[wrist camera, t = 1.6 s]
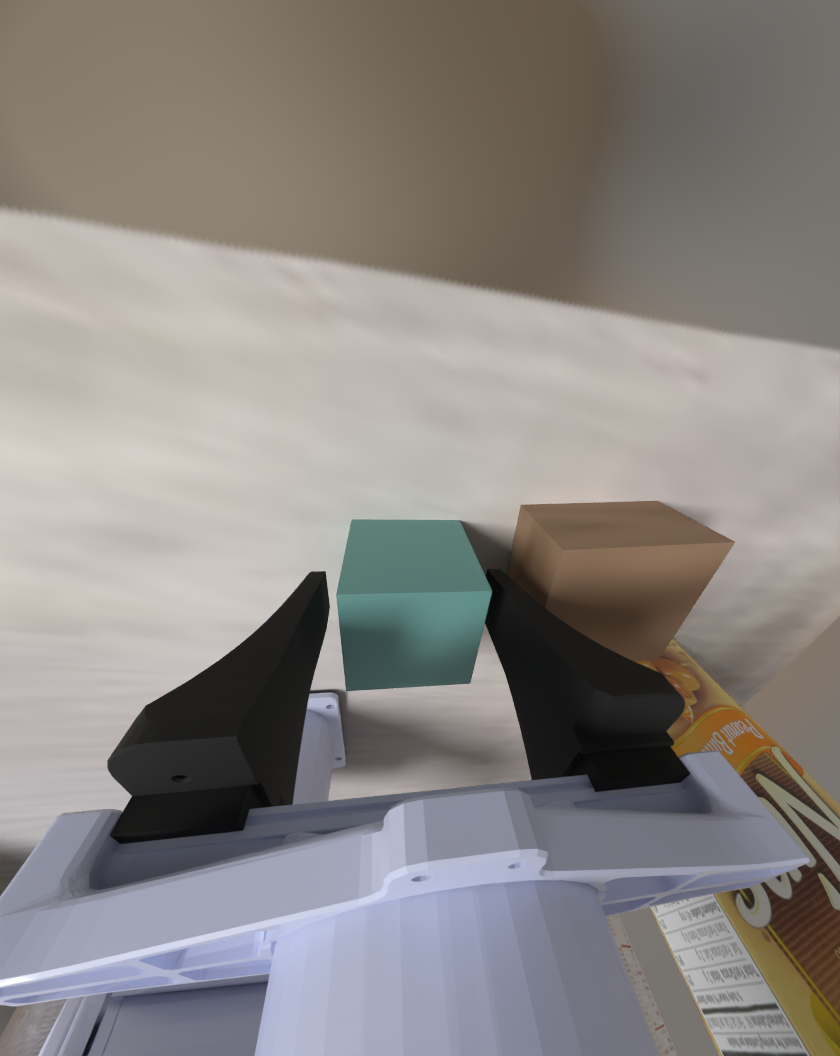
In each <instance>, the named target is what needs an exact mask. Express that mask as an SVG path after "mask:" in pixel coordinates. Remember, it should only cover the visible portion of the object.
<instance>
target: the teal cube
mask: <svg viewBox="0 0 840 1056" xmlns="http://www.w3.org/2000/svg"><path fill="white" fill-rule="evenodd" d="M491 594H492V590H491V587H490V585H489V583H488V581H487V579H486V577H485V574H484V572H483V570H482V568H481V566H480V563H479V561H478V559H477V557H476V555H475V553H474V550H473V548H472V546H471V544H470V542H469V539H468V537H467V535H466V533H465V531H464V529H463V526H462V524H461V522H460V520H352V521H351V526H350V531H349V535H348V540H347V545H346V550H345V555H344V560H343V565H342V570H341V575H340V579H339V584H338V589H337V594H336V596H337V606H338V616H339V625H340V635H341V645H342V654H343V664H344V674H345V684H346V691H356V690H372V689H388V688H405V687H421V686H437V685H454V684H470V682H471V678H472V674H473V669H474V665H475V661H476V657H477V653H478V648H479V644H480V640H481V636H482V632H483V627H484V623H485V619H486V615H487V611H488V606H489V602H490V598H491Z"/></svg>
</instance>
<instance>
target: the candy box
mask: <svg viewBox="0 0 840 1056" xmlns="http://www.w3.org/2000/svg"><path fill="white" fill-rule="evenodd" d="M636 663H639V664H641V665H643V666H645V667H648V668H650V669H652V670H655V671H657V672H659V673H662V674H663V675H664V676H665V677H666V678H667V680H668V681H669V682H670V683H671V684H672V685H673V686H674V688H675V689H676V690H677V691H678V692H679V693H680V694H681V696H682V697H683V698H684V700H685V708H684V711H683V713H682V714H681V715H680V717H679V718H678V719H677V720H676V721H675V722H674V723H673V724H672V726H671V727H670V728H669V729H668V730H667V733H668V734H669V735H670V737H671V738H672V739H673V741H674V745H673V746H671V748H672V749H673V751H674V752H675V753H676V755H677V756H678V757H679V756H681V755H683V754H686V753H692V752H702V751H713V750H716V751H719V752H720V753H721V754H722V755H723V756H724V758H725V759H726V760H727V761H728V762H729V764H730V765H731V766H732V767H733V768H734V770H735V771H736V772H737V773H738V774H739V775H740V777H741V778H742V779H743V780H744V781H745V783H746V784H747V785H748V786H749V787H750V788H751V790H752V791H753V792H754V793H755V794H756V796H757V797H758V798H759V799H760V800H761V802H762V803H763V804H764V805H765V806H766V807H767V809H768V810H769V811H770V812H771V813H772V815H773V816H774V817H775V818H776V819H777V821H778V822H779V823H780V824H781V825H782V826H783V828H784V829H785V830H786V831H787V832H788V834H789V835H790V836H791V837H792V838H793V839H794V841H795V842H796V843H797V844H798V845H799V847H800V848H801V849H802V850H803V851H804V853H805V854H806V855H807V856H808V857H809V863H807V864H805V865H802V866H800V867H798V868H795V869H793V870H791V871H788V872H786V873H784V874H781V875H779V876H777V877H774V878H772V879H770V880H767V881H765V882H762V883H760V884H758V885H755V886H753V887H750V888H745V889H739V890H733V891H728V892H722V893H717V894H711V895H706V896H701V897H696V898H691V899H686V900H681V901H676V902H672V903H667V904H662V905H658V906H653V907H650V909H651V911H652V913H653V915H654V917H655V920H656V921H657V924H658V926H659V928H660V930H661V933H662V935H663V937H664V939H665V941H666V943H667V945H668V947H669V949H670V951H671V953H672V955H673V957H674V960H675V962H676V964H677V966H678V968H679V970H680V972H681V974H682V977H683V979H684V981H685V983H686V985H687V987H688V989H689V991H690V993H691V995H692V997H693V999H694V1002H695V1004H696V1006H697V1008H698V1010H699V1013H700V1015H701V1017H702V1019H703V1021H704V1023H705V1025H706V1028H707V1030H708V1032H709V1034H710V1036H711V1038H712V1040H713V1042H714V1044H715V1047H716V1049H717V1051H718V1053H719V1055H720V1056H840V805H839V804H838V803H837V802H836V801H835V800H834V799H833V798H832V797H831V796H830V795H829V794H828V793H827V792H826V791H825V790H824V789H823V788H822V787H821V786H820V785H819V784H818V783H817V782H815V780H814V779H813V778H812V777H811V776H810V775H808V773H807V772H806V771H804V769H803V768H802V767H801V766H799V764H798V763H796V762H795V761H794V760H793V759H792V758H791V757H790V756H789V755H788V753H787V752H785V750H784V749H783V748H782V747H780V745H779V744H778V743H777V742H776V741H775V740H774V739H773V738H771V737H770V736H769V735H768V734H767V733H766V732H765V731H764V730H763V729H762V728H761V726H759V725H758V723H757V722H756V721H755V720H754V719H752V717H751V716H750V715H749V714H748V713H746V712H745V711H744V710H743V709H742V708H741V707H740V706H739V705H738V703H737V702H736V701H735V700H734V699H733V698H732V697H731V696H730V695H729V694H728V693H727V692H725V691H724V690H723V689H722V688H721V687H720V685H719V684H717V683H716V682H715V681H714V680H713V679H712V678H711V677H710V676H709V675H708V674H707V673H706V672H705V671H704V670H703V669H702V668H701V667H700V666H699V665H698V664H697V663H696V662H695V661H694V660H693V659H692V658H691V657H690V656H689V655H688V654H687V653H686V652H685V651H684V650H683V649H682V648H681V647H680V646H679V645H678V644H677V643H676V642H675V641H674V640H673V639H672V640H671V641H670V643H669V644H668V646H667V647H666V649H665V650H664V652H663V653H662V655H661V657H660V658H659V659H658V660H647V661H636Z"/></svg>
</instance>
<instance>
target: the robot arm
mask: <svg viewBox="0 0 840 1056" xmlns="http://www.w3.org/2000/svg"><path fill="white" fill-rule="evenodd" d="M486 579H487V581H488V583H489V585H490V587H491V590H492V594H491V598H490V602H489V606H488V611H487V615H486V619H485V624H486V626H487V629H488V631H489V634H490V636H491V639H492V641H493V644H494V646H495V649H496V651H497V654H498V656H499V659H500V661H501V664H502V666H503V669H504V672H505V675H506V678H507V681H508V685H509V688H510V691H511V695H512V698H513V702H514V706H515V710H516V713H517V717H518V721H519V725H520V729H521V733H522V737H523V741H524V746H525V750H526V754H527V759H528V764H529V768H530V773H531V778H532V780H530V781H520V782H510V783H501V784H491V785H481V786H471V787H461V788H452V789H442V790H432V791H422V792H412V793H403V794H393V795H383V796H373V797H363V798H353V799H344V800H334V801H328V798H329V790H330V782H331V774H332V768H341V767H344V766H345V764H346V755H345V747H344V739H343V731H342V723H341V715H340V707H339V699H338V695H337V694H335V693H332V692H328V693H312V694H310V688H311V684H312V680H313V676H314V672H315V669H316V665H317V661H318V658H319V654H320V651H321V647H322V643H323V640H324V636H325V632H326V629H327V622H328V616H329V608H330V605H329V596H328V588H327V580H326V571H323V572H310V573H309V574H308V575H307V576H306V578H305V579H304V580H303V581H302V582H301V584H300V585H299V586H298V587H297V589H296V590H295V591H294V592H293V593H292V594H291V596H290V597H289V598H288V599H287V600H286V601H285V602H284V603H283V604H282V606H281V607H280V608H279V609H278V610H277V611H276V612H275V613H274V614H273V615H272V616H271V617H270V618H269V619H268V620H267V621H266V622H265V623H264V624H263V625H262V626H261V627H260V628H259V629H257V630H256V631H255V632H254V633H253V634H252V635H251V636H249V637H248V638H247V639H246V640H245V641H244V642H242V643H241V644H240V645H239V646H237V647H236V648H235V649H233V650H232V651H231V652H229V653H228V654H227V655H226V656H224V657H223V658H222V659H220V660H219V661H217V662H216V663H215V664H213V665H212V666H210V667H209V668H207V669H206V670H204V671H203V672H201V673H200V674H198V675H197V676H195V677H194V678H192V679H191V680H189V681H187V682H186V683H184V684H183V685H181V686H179V687H177V688H176V689H174V690H172V691H171V692H169V693H167V694H165V695H164V696H162V697H160V698H159V699H157V700H155V701H153V702H152V703H150V704H148V705H146V706H145V708H144V709H143V710H142V712H141V713H140V714H139V715H138V717H137V718H136V719H135V721H134V722H133V724H132V725H131V727H130V728H129V730H128V731H127V733H126V734H125V736H124V737H123V738H122V740H121V741H120V743H119V744H118V746H117V747H116V749H115V750H114V752H113V753H112V755H111V756H110V758H109V759H108V770H109V772H110V773H111V775H112V776H113V778H114V779H115V780H116V781H117V782H118V783H120V784H121V785H122V786H123V787H124V788H125V789H126V790H127V791H128V792H129V793H130V794H131V795H132V797H131V799H130V801H129V802H128V804H127V806H126V808H125V809H124V811H123V812H122V811H120V810H114V809H103V810H92V811H82V812H72V813H63V814H61V815H59V816H58V817H57V818H56V819H55V820H54V822H53V823H52V825H51V826H50V827H49V829H48V830H47V832H46V833H45V834H44V836H43V837H42V839H41V840H40V841H39V843H38V844H37V846H36V847H35V849H34V850H33V851H32V853H31V854H30V856H29V857H28V858H27V860H26V861H25V863H24V864H23V865H22V867H21V868H20V870H19V871H18V872H17V874H16V875H15V877H14V878H13V879H12V881H11V882H10V884H9V885H8V886H7V888H6V889H5V891H4V892H3V893H2V895H1V896H0V1005H7V1006H22V1005H29V1004H35V1003H42V1002H48V1001H55V1000H61V999H67V1001H66V1002H65V1004H64V1006H63V1008H62V1010H61V1012H60V1014H59V1016H58V1018H57V1019H56V1021H55V1023H54V1025H53V1027H52V1029H51V1031H50V1033H49V1035H48V1037H47V1039H46V1041H45V1043H44V1045H43V1047H42V1049H41V1051H40V1053H39V1055H38V1056H660V1054H659V1051H658V1049H657V1046H656V1044H655V1041H654V1039H653V1036H652V1033H651V1031H650V1028H649V1026H648V1023H647V1021H646V1018H645V1016H644V1013H643V1010H642V1008H641V1005H640V1003H639V1000H638V998H637V995H636V993H635V990H634V987H633V985H632V982H631V980H630V977H629V975H628V972H627V970H626V967H625V964H624V962H623V959H622V957H621V954H620V952H619V949H618V947H617V944H616V941H615V939H614V936H613V934H612V931H611V929H610V926H609V924H608V921H607V918H606V917H607V916H612V915H616V914H621V913H625V912H630V911H634V910H639V909H644V908H649V907H653V906H658V905H662V904H667V903H672V902H676V901H681V900H686V899H691V898H696V897H701V896H706V895H711V894H717V893H722V892H728V891H733V890H739V889H745V888H750V887H753V886H755V885H758V884H760V883H762V882H765V881H767V880H770V879H772V878H774V877H777V876H779V875H781V874H784V873H786V872H788V871H791V870H793V869H795V868H798V867H800V866H802V865H805V864H807V863H809V857H808V856H807V855H806V854H805V853H804V851H803V850H802V849H801V848H800V847H799V845H798V844H797V843H796V842H795V841H794V839H793V838H792V837H791V836H790V835H789V834H788V832H787V831H786V830H785V829H784V828H783V826H782V825H781V824H780V823H779V822H778V821H777V819H776V818H775V817H774V816H773V815H772V813H771V812H770V811H769V810H768V809H767V807H766V806H765V805H764V804H763V803H762V802H761V800H760V799H759V798H758V797H757V796H756V794H755V793H754V792H753V791H752V790H751V788H750V787H749V786H748V785H747V784H746V783H745V781H744V780H743V779H742V778H741V777H740V775H739V774H738V773H737V772H736V771H735V770H734V768H733V767H732V766H731V765H730V764H729V762H728V761H727V760H726V759H725V758H724V756H723V755H722V754H721V753H720V752H719V751H716V750H713V751H702V752H692V753H686V754H683V755H681V756H679V757H678V756H677V755H676V753H675V752H674V751H673V749H672V748H671V746H673V745H674V741H673V739H672V738H671V737H670V735H669V734H668V733H667V730H668V729H669V728H670V727H671V726H672V724H673V723H674V722H675V721H676V720H677V719H678V718H679V717H680V715H681V714H682V713H683V711H684V708H685V700H684V698H683V697H682V696H681V694H680V693H679V692H678V691H677V690H676V689H675V688H674V686H673V685H672V684H671V683H670V682H669V681H668V680H667V678H666V677H665V676H664V675H663V674H662V673H659V672H657V671H655V670H652V669H650V668H648V667H645V666H643V665H641V664H639V663H636V662H634V661H632V660H630V659H628V658H626V657H624V656H622V655H620V654H618V653H616V652H614V651H612V650H610V649H608V648H606V647H604V646H602V645H600V644H599V643H597V642H595V641H593V640H592V639H590V638H588V637H587V636H585V635H583V634H582V633H580V632H578V631H577V630H575V629H574V628H572V627H571V626H569V625H568V624H566V623H565V622H563V621H562V620H560V619H559V618H558V617H556V616H555V615H554V614H552V613H551V612H550V611H548V610H547V609H546V608H544V607H543V606H542V605H541V604H539V603H538V602H537V601H536V600H535V599H533V598H532V597H531V596H530V595H529V594H528V593H526V592H525V591H524V590H523V589H522V588H521V587H520V586H519V585H518V584H516V583H515V582H514V581H513V580H512V579H511V578H510V577H509V576H508V575H506V574H505V573H504V572H503V571H502V570H501V569H487V574H486Z"/></svg>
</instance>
